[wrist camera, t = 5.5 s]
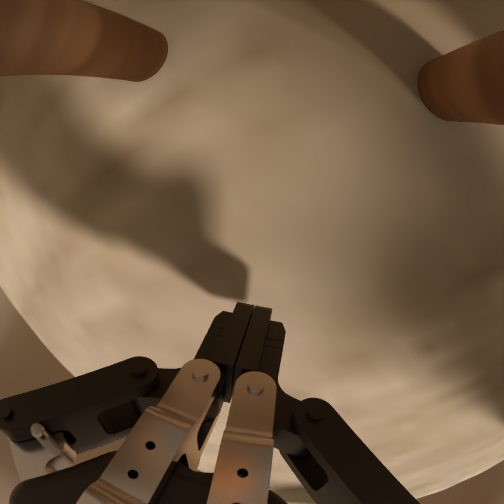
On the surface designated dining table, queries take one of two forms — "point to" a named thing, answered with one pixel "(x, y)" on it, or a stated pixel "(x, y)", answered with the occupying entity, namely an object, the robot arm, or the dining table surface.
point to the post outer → (76, 41)
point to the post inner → (467, 82)
